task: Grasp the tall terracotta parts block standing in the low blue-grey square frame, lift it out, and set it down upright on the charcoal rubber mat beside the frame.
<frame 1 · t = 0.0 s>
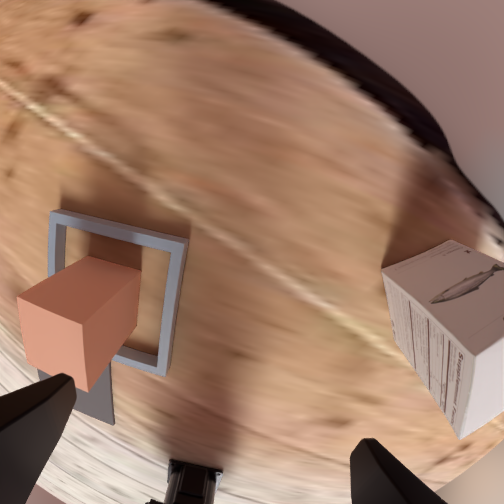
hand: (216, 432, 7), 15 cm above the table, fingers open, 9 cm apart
blue-grey square frame: (111, 291, 22), on the table
parts block: (85, 314, 18), in the blue-grey square frame
place mat: (72, 378, 25), on the table
supplement box: (421, 290, 22), on the table
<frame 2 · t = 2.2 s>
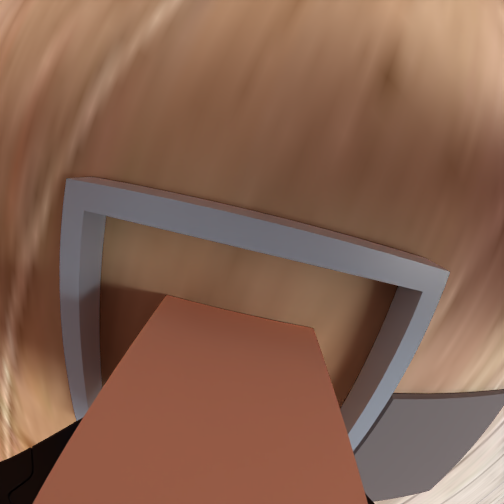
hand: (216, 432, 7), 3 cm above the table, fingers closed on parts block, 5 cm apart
blue-grey square frame: (225, 371, 10), on the table
parts block: (210, 471, 6), in the blue-grey square frame, touching gripper
place mat: (416, 455, 12), on the table
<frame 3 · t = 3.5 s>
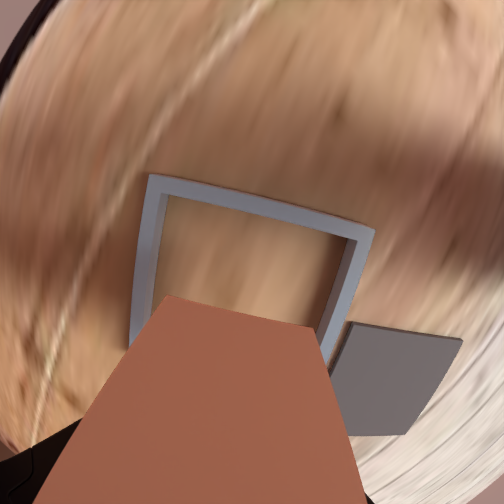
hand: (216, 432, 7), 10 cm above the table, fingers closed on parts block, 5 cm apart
blue-grey square frame: (239, 298, 17), on the table
parts block: (210, 470, 6), point 11 cm above the table, touching gripper
place mat: (384, 389, 18), on the table
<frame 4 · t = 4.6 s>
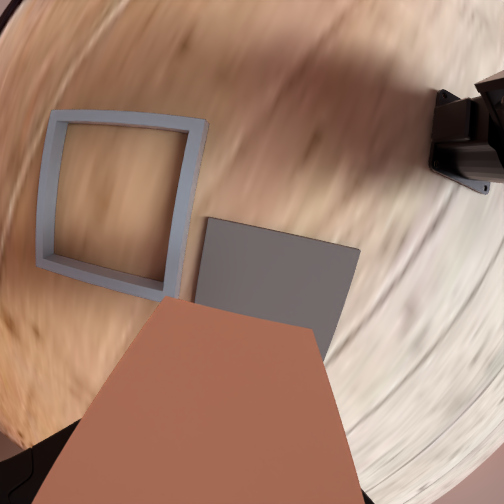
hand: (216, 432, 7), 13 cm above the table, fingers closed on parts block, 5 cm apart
blue-grey square frame: (111, 198, 18), on the table
parts block: (208, 471, 6), point 14 cm above the table, touching gripper
place mat: (269, 304, 20), on the table
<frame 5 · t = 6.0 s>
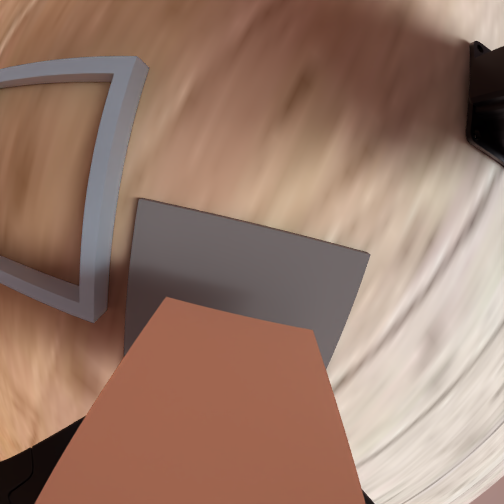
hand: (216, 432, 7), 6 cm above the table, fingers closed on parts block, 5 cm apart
blue-grey square frame: (30, 176, 12), on the table
parts block: (209, 472, 6), point 8 cm above the table, touching gripper
place mat: (230, 329, 13), on the table
when the fingers open (5 cm above the table, at t = 7.1 s): parts block drops 1 cm, resting on place mat.
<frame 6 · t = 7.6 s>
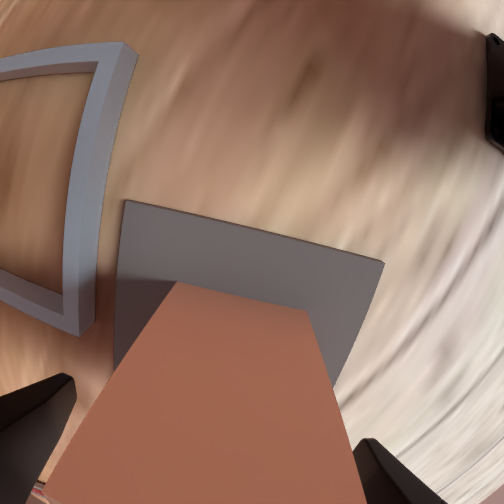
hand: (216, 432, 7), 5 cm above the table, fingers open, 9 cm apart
blue-grey square frame: (12, 176, 10), on the table
parts block: (216, 433, 7), on the place mat
place mat: (229, 345, 12), on the table
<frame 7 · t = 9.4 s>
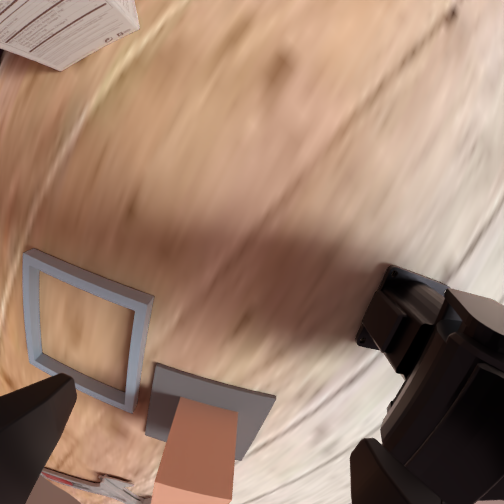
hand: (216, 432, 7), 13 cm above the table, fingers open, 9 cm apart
adjustable wrench: (89, 479, 29), on the table
blue-grey square frame: (82, 332, 21), on the table
parts block: (195, 460, 18), on the place mat
place mat: (203, 418, 23), on the table
supplement box: (95, 21, 15), on the table
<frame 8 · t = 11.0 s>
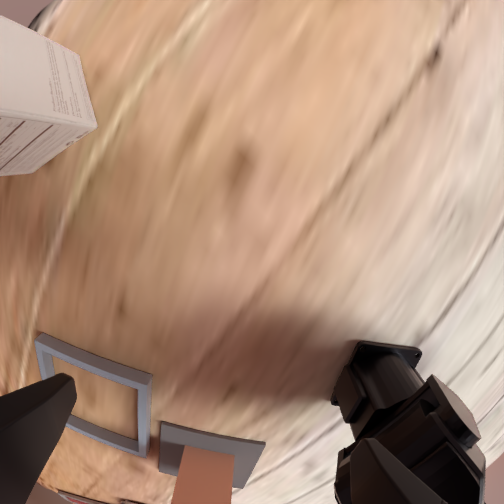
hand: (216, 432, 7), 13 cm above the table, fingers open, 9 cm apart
adjustable wrench: (111, 503, 32), on the table
blue-grey square frame: (96, 398, 23), on the table
parts block: (201, 495, 20), on the place mat
place mat: (206, 459, 25), on the table
supplement box: (55, 114, 17), on the table
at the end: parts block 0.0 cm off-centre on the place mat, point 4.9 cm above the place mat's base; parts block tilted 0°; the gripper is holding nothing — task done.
